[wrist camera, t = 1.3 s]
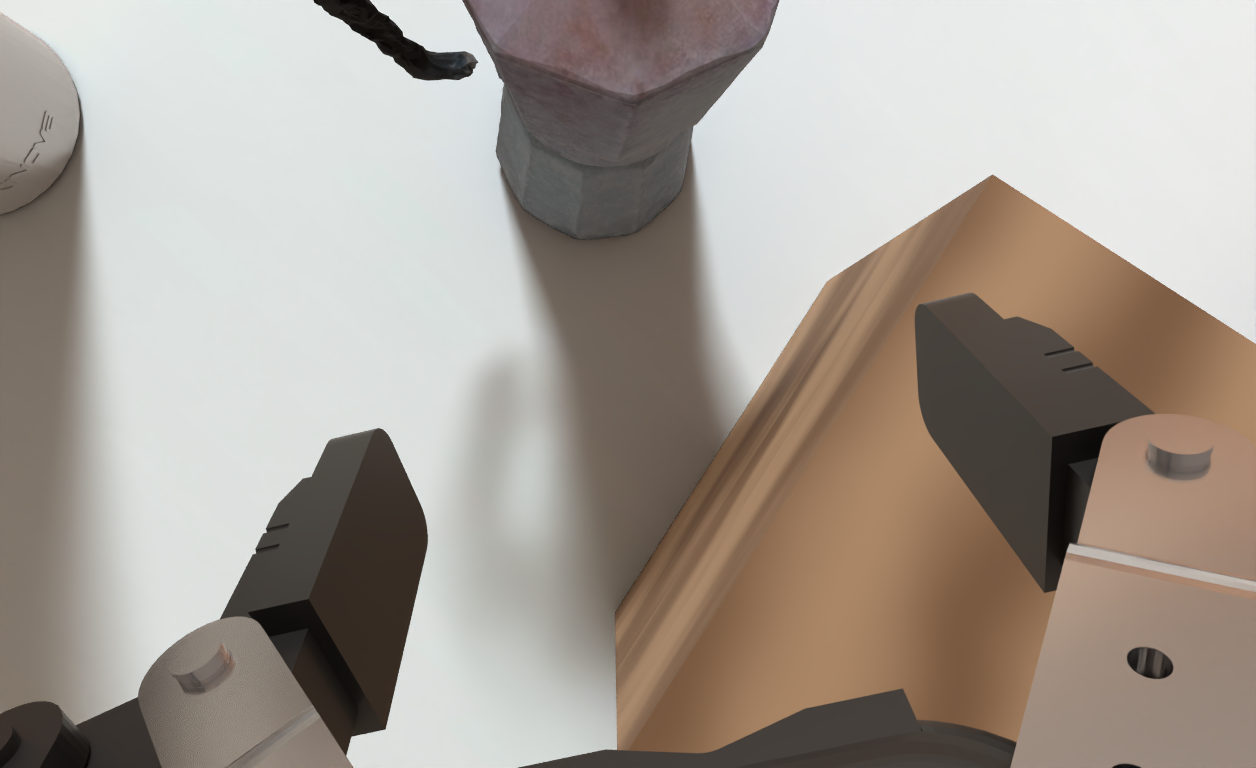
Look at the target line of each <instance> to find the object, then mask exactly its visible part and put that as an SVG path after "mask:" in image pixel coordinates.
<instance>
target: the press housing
mask: <svg viewBox="0 0 1256 768" xmlns="http://www.w3.org/2000/svg"><path fill="white" fill-rule="evenodd" d="M971 292H972V293H974V294H976V295H977V296H978V297H979V298H981V299H982V300H983V301H984V302H985V303H986V304H987V305H989V306H990V307H991V308H992V309H993V310H994V311H995V312H996V313H998V314H999V315H1000V316H1001V317H1002V318H1003V319H1007V318H1012V317H1016V316H1018V317H1021V318H1023V319H1026V320H1029V321H1032V322H1034V323H1037V324H1040V325H1043V326H1045V327H1048V328H1051V329H1052V330H1054V331H1055V332H1056V333H1057V334H1059V335H1060V336H1061V337H1062V338H1063V339H1065V340H1066V341H1067V342H1068V343H1070V344H1071V345H1072V346H1073V347H1074V350H1075V351H1079V352H1081V353H1082V354H1083V355H1084V356H1086V357H1087V358H1088V359H1089V360H1090V361H1092V362H1093V366H1094V367H1097V366H1098V367H1099V368H1100V369H1101V370H1103V371H1104V372H1105V373H1106V374H1108V375H1109V376H1110V377H1111V378H1112V379H1114V380H1115V381H1116V382H1117V383H1119V384H1120V385H1121V386H1122V387H1124V388H1125V389H1126V390H1127V391H1128V392H1130V393H1131V394H1132V395H1133V396H1135V397H1136V398H1137V399H1138V400H1139V401H1141V402H1142V403H1143V404H1144V405H1146V406H1147V407H1148V408H1149V409H1151V410H1152V411H1153V412H1154V413H1155V414H1179V415H1188V416H1194V417H1199V418H1203V419H1207V420H1211V421H1214V422H1217V423H1220V424H1223V425H1225V426H1227V427H1229V428H1231V429H1233V430H1235V431H1237V432H1239V433H1240V434H1242V435H1243V436H1245V437H1246V438H1247V439H1248V440H1250V441H1251V442H1252V444H1253V445H1254V446H1255V447H1256V344H1255V343H1253V342H1252V341H1250V340H1249V339H1247V338H1245V337H1244V336H1242V335H1241V334H1239V333H1238V332H1236V331H1235V330H1233V329H1231V328H1230V327H1228V326H1227V325H1225V324H1224V323H1222V322H1221V321H1219V320H1217V319H1216V318H1214V317H1213V316H1211V315H1210V314H1208V313H1207V312H1205V311H1204V310H1202V309H1200V308H1199V307H1197V306H1196V305H1194V304H1193V303H1191V302H1190V301H1188V300H1186V299H1185V298H1183V297H1182V296H1180V295H1179V294H1177V293H1176V292H1174V291H1172V290H1171V289H1169V288H1168V287H1166V286H1165V285H1163V284H1162V283H1160V282H1159V281H1157V280H1155V279H1154V278H1152V277H1151V276H1149V275H1148V274H1146V273H1145V272H1143V271H1141V270H1140V269H1138V268H1137V267H1135V266H1134V265H1132V264H1131V263H1129V262H1127V261H1126V260H1124V259H1123V258H1121V257H1120V256H1118V255H1117V254H1115V253H1113V252H1112V251H1110V250H1109V249H1107V248H1106V247H1104V246H1103V245H1101V244H1100V243H1098V242H1096V241H1095V240H1093V239H1092V238H1090V237H1089V236H1087V235H1086V234H1084V233H1082V232H1081V231H1079V230H1078V229H1076V228H1075V227H1073V226H1072V225H1070V224H1068V223H1067V222H1065V221H1064V220H1062V219H1061V218H1059V217H1058V216H1056V215H1055V214H1053V213H1051V212H1050V211H1048V210H1047V209H1045V208H1044V207H1042V206H1041V205H1039V204H1037V203H1036V202H1034V201H1033V200H1031V199H1030V198H1028V197H1027V196H1025V195H1023V194H1022V193H1020V192H1019V191H1017V190H1016V189H1014V188H1013V187H1011V186H1009V185H1008V184H1006V183H1005V182H1003V181H1002V180H1000V179H999V178H997V177H996V176H994V175H991V176H990V177H988V178H987V179H985V180H983V181H982V182H980V183H979V184H977V185H976V186H974V187H973V188H971V189H970V190H968V191H966V192H965V193H963V194H962V195H960V196H959V197H957V198H956V199H954V200H952V201H951V202H949V203H948V204H946V205H945V206H943V207H942V208H940V209H939V210H937V211H935V212H934V213H932V214H931V215H929V216H928V217H926V218H925V219H923V220H921V221H920V222H918V223H917V224H915V225H914V226H912V227H911V228H909V229H908V230H906V231H904V232H903V233H901V234H900V235H898V236H897V237H895V238H894V239H892V240H890V241H889V242H887V243H886V244H884V245H883V246H881V247H880V248H878V249H877V250H875V251H873V252H872V253H870V254H869V255H867V256H866V257H864V258H863V259H861V260H860V261H858V262H856V263H855V264H853V265H852V266H850V267H849V268H847V269H846V270H844V271H842V272H841V273H839V274H838V275H836V276H835V277H833V278H832V279H830V280H829V281H827V283H826V284H825V286H824V287H823V289H822V290H821V292H820V293H819V295H818V297H817V298H816V300H815V301H814V303H813V304H812V306H811V308H810V309H809V311H808V312H807V314H806V315H805V317H804V318H803V320H802V322H801V323H800V325H799V326H798V328H797V329H796V331H795V333H794V334H793V336H792V337H791V339H790V340H789V342H788V343H787V345H786V347H785V348H784V350H783V351H782V353H781V354H780V356H779V358H778V359H777V361H776V362H775V364H774V365H773V367H772V368H771V370H770V372H769V373H768V375H767V376H766V378H765V379H764V381H763V383H762V384H761V386H760V387H759V389H758V390H757V392H756V393H755V395H754V397H753V398H752V400H751V401H750V403H749V404H748V406H747V408H746V409H745V411H744V412H743V414H742V415H741V417H740V418H739V420H738V422H737V423H736V425H735V426H734V428H733V429H732V431H731V433H730V434H729V436H728V437H727V439H726V440H725V442H724V443H723V445H722V447H721V448H720V450H719V451H718V453H717V454H716V456H715V458H714V459H713V461H712V462H711V464H710V465H709V467H708V468H707V470H706V472H705V473H704V475H703V476H702V478H701V479H700V481H699V483H698V484H697V486H696V487H695V489H694V490H693V492H692V493H691V495H690V497H689V498H688V500H687V501H686V503H685V504H684V506H683V508H682V509H681V511H680V512H679V514H678V515H677V517H676V518H675V520H674V522H673V523H672V525H671V526H670V528H669V529H668V531H667V533H666V534H665V536H664V537H663V539H662V540H661V542H660V543H659V545H658V547H657V548H656V550H655V551H654V553H653V554H652V556H651V557H650V559H649V561H648V562H647V564H646V565H645V567H644V568H643V570H642V572H641V573H640V575H639V576H638V578H637V579H636V581H635V582H634V584H633V586H632V587H631V589H630V590H629V592H628V593H627V595H626V597H625V598H624V600H623V601H622V603H621V604H620V606H619V607H618V609H617V611H616V612H615V639H616V699H617V750H628V751H654V752H680V753H707V752H712V751H715V750H717V749H720V748H722V747H724V746H726V745H728V744H730V743H733V742H735V741H737V740H739V739H741V738H743V737H745V736H747V735H750V734H752V733H754V732H756V731H758V730H760V729H762V728H764V727H767V726H769V725H771V724H773V723H775V722H777V721H779V720H782V719H784V718H786V717H788V716H790V715H792V714H794V713H796V712H799V711H801V710H803V709H805V708H810V707H815V706H820V705H825V704H829V703H834V702H839V701H844V700H849V699H854V698H859V697H863V696H868V695H873V694H878V693H883V692H888V691H892V690H897V689H902V688H903V690H904V692H905V694H906V696H907V699H908V701H909V703H910V705H911V708H912V710H913V712H914V714H915V717H916V719H917V720H934V721H941V722H948V723H954V724H960V725H964V726H968V727H972V728H977V729H981V730H985V731H988V732H990V733H993V734H996V735H999V736H1002V737H1004V738H1007V739H1010V740H1013V741H1015V742H1017V740H1018V736H1019V732H1020V729H1021V725H1022V721H1023V717H1024V713H1025V709H1026V706H1027V702H1028V698H1029V694H1030V690H1031V686H1032V682H1033V679H1034V675H1035V671H1036V667H1037V663H1038V659H1039V656H1040V652H1041V648H1042V644H1043V640H1044V636H1045V632H1046V629H1047V625H1048V621H1049V617H1050V613H1051V609H1052V606H1053V602H1054V598H1055V594H1056V591H1052V592H1047V593H1044V592H1043V591H1042V589H1041V588H1040V586H1039V585H1038V584H1037V582H1036V581H1035V580H1034V578H1033V577H1032V575H1031V574H1030V573H1029V571H1028V570H1027V569H1026V567H1025V566H1024V564H1023V563H1022V562H1021V560H1020V559H1019V557H1018V556H1017V555H1016V553H1015V552H1014V551H1013V549H1012V548H1011V546H1010V545H1009V544H1008V542H1007V541H1006V540H1005V538H1004V537H1003V535H1002V534H1001V533H1000V531H999V530H998V528H997V527H996V526H995V524H994V523H993V522H992V520H991V519H990V517H989V516H988V515H987V513H986V512H985V510H984V509H983V508H982V506H981V505H980V504H979V502H978V501H977V499H976V498H975V497H974V495H973V494H972V493H971V491H970V490H969V488H968V487H967V486H966V484H965V483H964V481H963V480H962V479H961V477H960V476H959V475H958V473H957V472H956V470H955V469H954V468H953V466H952V465H951V464H950V462H949V461H948V459H947V458H946V457H945V455H944V454H943V452H942V451H941V450H940V448H939V447H938V446H937V444H936V443H935V441H934V440H933V439H932V437H931V436H930V434H929V432H928V430H927V428H926V425H925V423H924V420H923V417H922V413H921V409H920V405H919V398H918V381H917V361H916V341H915V311H916V308H917V306H918V305H919V304H922V303H927V302H931V301H935V300H939V299H944V298H948V297H952V296H957V295H961V294H965V293H971Z"/></svg>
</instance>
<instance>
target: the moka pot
mask: <svg viewBox="0 0 1256 768" xmlns="http://www.w3.org/2000/svg"><path fill="white" fill-rule="evenodd" d="M463 2H464V4H465V6H466V8H467V10H468V12H469V14H470V15H471V17H472V19H473V21H474V23H475V26H476V29H477V31H478V33H479V35H480V36H481V38H482V41H483V43H484V45H485V46H486V48H487V51H488V53H489V54H490V56H491V58H492V60H493V62H494V64H495V67H496V70H497V73H498V76H499V78H500V79H502V81H503V82H504V87H503V95H502V101H501V118H500V124H499V133H498V138H497V147H496V154H497V158H498V160H499V162H500V165H501V167H502V170H503V172H504V174H505V176H506V178H507V181H508V183H509V185H510V187H511V189H512V191H513V193H514V195H515V196H516V198H517V199H518V201H519V203H520V205H521V206H522V207H523V209H524V210H526V211H527V212H528V213H530V214H531V215H532V216H534V217H536V218H537V219H539V220H541V221H542V222H544V223H546V224H548V225H549V226H551V227H553V228H555V229H557V230H559V231H560V232H562V233H565V234H567V235H569V236H571V237H572V238H575V239H600V238H604V237H613V236H625V235H628V234H631V233H634V232H637V231H639V230H640V229H641V228H642V227H644V226H645V225H646V224H648V223H649V222H651V221H652V220H653V219H654V218H655V217H656V216H657V215H658V214H659V213H661V212H662V211H663V210H664V209H665V208H666V207H667V206H668V205H670V203H671V202H672V201H673V200H674V199H675V198H676V196H677V195H678V194H679V193H680V191H681V188H682V185H683V181H684V176H685V170H686V165H687V159H688V153H689V148H690V142H691V138H692V132H693V126H694V125H696V124H697V123H698V122H699V121H700V120H701V119H702V118H703V116H704V115H705V114H706V113H707V111H708V110H709V109H710V108H711V107H712V106H713V104H714V103H715V102H716V101H717V100H718V99H719V98H720V96H721V95H722V94H723V93H724V92H725V90H726V89H727V88H728V87H729V86H730V85H731V83H732V82H733V81H734V80H735V78H736V77H737V76H738V75H739V73H740V72H741V71H742V70H743V69H744V68H745V67H746V65H747V64H748V63H749V62H750V61H751V60H752V58H753V57H754V56H755V55H756V54H757V53H758V52H759V50H760V49H761V48H762V47H763V45H764V42H765V40H766V38H767V36H768V34H769V31H770V28H771V25H772V22H773V19H774V16H775V12H776V9H777V6H778V3H779V0H463ZM314 3H316V4H317V5H320V6H322V7H323V9H324V10H325V11H326V12H328V13H329V14H330V15H331V16H334V17H336V18H338V19H341V20H343V21H344V22H345V23H346V24H348V25H349V26H350V27H351V29H352V30H353V31H355V32H357V33H359V34H361V35H362V36H364V37H366V38H367V39H369V40H371V41H373V42H375V43H376V44H377V46H378V48H379V49H380V50H381V52H382V53H383V54H386V55H388V56H391V57H393V58H394V60H395V62H396V63H397V64H398V65H400V66H401V67H403V68H404V69H405V70H406V71H407V72H408V73H409V74H410V75H412V77H413V78H417V79H422V80H442V79H452V80H460V79H462V78H464V77H468V76H470V75H471V74H472V73H473V69H474V68H475V66H476V63H478V61H477V60H476V59H475V57H474V56H473V55H472V54H470V53H467V52H446V53H436V52H430V51H427V50H425V48H424V47H423V46H421V45H419V44H417V43H415V42H413V41H411V40H409V39H407V38H405V37H403V32H402V31H401V29H400V28H399V27H398V26H397V25H396V24H395V23H394V22H393V21H392V20H390V18H389V16H387V15H385V14H382V13H380V12H379V11H378V10H377V8H376V7H375V6H374V5H373V4H372V3H371V1H370V0H314Z"/></svg>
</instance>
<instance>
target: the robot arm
mask: <svg viewBox="0 0 1256 768" xmlns="http://www.w3.org/2000/svg"><path fill="white" fill-rule="evenodd" d="M79 117H80V111H79V104H78V96H77V91H76V89H75V86H74V83H73V80H72V78H71V75H70V73H69V71H68V70H67V68H66V66H65V65H64V63H63V62H62V60H61V59H60V57H59V56H58V55H57V54H56V53H55V52H54V51H53V50H52V49H51V48H50V47H49V46H48V45H47V44H46V43H45V42H44V41H43V40H42V39H40V38H39V37H37V36H36V35H34V34H33V33H31V32H30V31H28V30H27V29H25V28H24V27H22V26H21V25H19V24H18V23H16V22H15V21H13V20H12V19H10V18H9V17H7V16H6V15H4V14H3V13H1V12H0V214H4V213H8V212H11V211H13V210H15V209H17V208H19V207H22V206H24V205H26V204H28V203H30V202H31V201H33V200H34V199H35V198H36V197H38V196H39V195H40V194H42V193H43V192H44V191H46V190H47V189H48V188H49V187H50V186H51V184H52V183H53V182H54V181H55V180H56V179H57V178H58V176H59V175H60V174H61V173H62V171H63V169H64V168H65V166H66V164H67V162H68V160H69V159H70V157H71V155H72V152H73V149H74V146H75V142H76V139H77V136H78V129H79ZM915 341H916V361H917V381H918V398H919V405H920V409H921V413H922V417H923V420H924V423H925V425H926V428H927V430H928V432H929V434H930V436H931V437H932V439H933V440H934V441H935V443H936V444H937V446H938V447H939V448H940V450H941V451H942V452H943V454H944V455H945V457H946V458H947V459H948V461H949V462H950V464H951V465H952V466H953V468H954V469H955V470H956V472H957V473H958V475H959V476H960V477H961V479H962V480H963V481H964V483H965V484H966V486H967V487H968V488H969V490H970V491H971V493H972V494H973V495H974V497H975V498H976V499H977V501H978V502H979V504H980V505H981V506H982V508H983V509H984V510H985V512H986V513H987V515H988V516H989V517H990V519H991V520H992V522H993V523H994V524H995V526H996V527H997V528H998V530H999V531H1000V533H1001V534H1002V535H1003V537H1004V538H1005V540H1006V541H1007V542H1008V544H1009V545H1010V546H1011V548H1012V549H1013V551H1014V552H1015V553H1016V555H1017V556H1018V557H1019V559H1020V560H1021V562H1022V563H1023V564H1024V566H1025V567H1026V569H1027V570H1028V571H1029V573H1030V574H1031V575H1032V577H1033V578H1034V580H1035V581H1036V582H1037V584H1038V585H1039V586H1040V588H1041V589H1042V591H1043V592H1044V593H1047V592H1052V591H1056V594H1055V598H1054V602H1053V606H1052V609H1051V613H1050V617H1049V621H1048V625H1047V629H1046V632H1045V636H1044V640H1043V644H1042V648H1041V652H1040V656H1039V659H1038V663H1037V667H1036V671H1035V675H1034V679H1033V682H1032V686H1031V690H1030V694H1029V698H1028V702H1027V706H1026V709H1025V713H1024V717H1023V721H1022V725H1021V729H1020V732H1019V736H1018V740H1017V742H1015V741H1013V740H1010V739H1007V738H1004V737H1002V736H999V735H996V734H993V733H990V732H988V731H985V730H981V729H977V728H972V727H968V726H964V725H960V724H954V723H948V722H941V721H934V720H917V719H916V717H915V714H914V712H913V710H912V708H911V705H910V703H909V701H908V699H907V696H906V694H905V692H904V690H903V688H902V689H897V690H892V691H888V692H883V693H878V694H873V695H868V696H863V697H859V698H854V699H849V700H844V701H839V702H834V703H829V704H825V705H820V706H815V707H810V708H805V709H803V710H801V711H799V712H796V713H794V714H792V715H790V716H788V717H786V718H784V719H782V720H779V721H777V722H775V723H773V724H771V725H769V726H767V727H764V728H762V729H760V730H758V731H756V732H754V733H752V734H750V735H747V736H745V737H743V738H741V739H739V740H737V741H735V742H733V743H730V744H728V745H726V746H724V747H722V748H720V749H717V750H715V751H712V752H707V753H680V752H654V751H628V750H602V751H597V752H592V753H587V754H582V755H577V756H572V757H568V758H563V759H558V760H553V761H548V762H543V763H539V764H534V765H529V766H524V767H519V768H1256V447H1255V446H1254V445H1253V444H1252V442H1251V441H1250V440H1248V439H1247V438H1246V437H1245V436H1243V435H1242V434H1240V433H1239V432H1237V431H1235V430H1233V429H1231V428H1229V427H1227V426H1225V425H1223V424H1220V423H1217V422H1214V421H1211V420H1207V419H1203V418H1199V417H1194V416H1188V415H1179V414H1155V413H1154V412H1153V411H1152V410H1151V409H1149V408H1148V407H1147V406H1146V405H1144V404H1143V403H1142V402H1141V401H1139V400H1138V399H1137V398H1136V397H1135V396H1133V395H1132V394H1131V393H1130V392H1128V391H1127V390H1126V389H1125V388H1124V387H1122V386H1121V385H1120V384H1119V383H1117V382H1116V381H1115V380H1114V379H1112V378H1111V377H1110V376H1109V375H1108V374H1106V373H1105V372H1104V371H1103V370H1101V369H1100V368H1099V367H1098V366H1097V367H1094V366H1093V362H1092V361H1090V360H1089V359H1088V358H1087V357H1086V356H1084V355H1083V354H1082V353H1081V352H1079V351H1075V350H1074V347H1073V346H1072V345H1071V344H1070V343H1068V342H1067V341H1066V340H1065V339H1063V338H1062V337H1061V336H1060V335H1059V334H1057V333H1056V332H1055V331H1054V330H1052V329H1051V328H1048V327H1045V326H1043V325H1040V324H1037V323H1034V322H1032V321H1029V320H1026V319H1023V318H1021V317H1018V316H1016V317H1012V318H1007V319H1003V318H1002V317H1001V316H1000V315H999V314H998V313H996V312H995V311H994V310H993V309H992V308H991V307H990V306H989V305H987V304H986V303H985V302H984V301H983V300H982V299H981V298H979V297H978V296H977V295H976V294H974V293H972V292H971V293H965V294H961V295H957V296H952V297H948V298H944V299H939V300H935V301H931V302H927V303H922V304H919V305H918V306H917V308H916V311H915ZM266 530H267V533H264V534H263V535H262V537H261V539H260V541H259V543H258V545H257V547H256V549H255V550H256V554H253V555H252V557H251V559H250V561H249V563H248V565H247V567H246V569H245V571H244V573H243V575H242V577H241V579H240V581H239V583H238V585H237V587H236V589H235V590H234V592H233V594H232V596H231V598H230V600H229V602H228V604H227V606H226V608H225V610H224V612H223V614H222V616H221V618H220V620H217V621H214V622H211V623H209V624H206V625H204V626H202V627H200V628H198V629H196V630H194V631H193V632H191V633H189V634H187V635H186V636H184V637H183V638H182V639H180V640H179V641H177V642H176V643H175V644H173V645H172V646H171V647H170V648H169V649H167V650H166V651H165V652H164V653H163V654H162V655H161V656H160V657H159V658H158V659H157V661H156V662H155V663H154V664H153V665H152V666H151V668H150V669H149V671H148V672H147V674H146V675H145V677H144V679H143V681H142V683H141V686H140V689H139V693H138V697H137V698H135V699H133V700H131V701H128V702H126V703H124V704H122V705H120V706H117V707H115V708H113V709H111V710H109V711H106V712H104V713H102V714H100V715H98V716H95V717H93V718H91V719H89V720H87V721H85V722H82V723H80V724H78V725H76V726H75V725H74V723H73V722H72V721H71V720H70V719H69V718H68V717H67V716H66V714H65V713H64V712H63V711H62V710H61V709H60V708H59V707H58V705H56V704H54V703H51V702H46V701H41V702H32V703H27V704H24V705H21V706H18V707H15V708H13V709H10V710H8V711H6V712H4V713H2V714H0V768H353V766H352V765H351V763H350V762H349V760H348V759H347V757H346V754H347V751H348V747H349V743H350V739H351V737H352V736H356V735H361V734H366V733H371V732H375V731H380V730H385V729H386V725H387V721H388V716H389V712H390V708H391V703H392V699H393V695H394V690H395V686H396V681H397V677H398V673H399V668H400V664H401V660H402V655H403V651H404V646H405V642H406V638H407V633H408V629H409V625H410V620H411V616H412V611H413V607H414V603H415V598H416V594H417V590H418V585H419V581H420V577H421V572H422V568H423V563H424V559H425V555H426V550H427V543H428V534H427V525H426V520H425V516H424V513H423V509H422V507H421V505H420V502H419V500H418V498H417V496H416V494H415V491H414V489H413V487H412V485H411V483H410V480H409V478H408V476H407V474H406V472H405V469H404V467H403V465H402V463H401V461H400V458H399V456H398V454H397V452H396V450H395V447H394V445H393V443H392V441H391V439H390V437H389V436H388V434H387V433H386V432H385V431H384V430H383V429H380V428H378V429H373V430H369V431H365V432H360V433H356V434H352V435H347V436H343V437H339V438H334V439H331V440H330V441H329V442H328V443H327V445H326V447H325V449H324V451H323V454H322V456H321V458H320V460H319V462H318V464H317V466H316V468H315V470H314V473H313V475H312V477H309V478H304V479H302V480H301V481H300V482H299V483H298V484H297V485H296V486H295V487H294V488H293V489H292V490H291V491H290V492H289V493H288V494H287V496H286V497H285V498H284V499H283V500H282V501H281V502H280V503H279V504H278V506H277V508H276V510H275V512H274V514H273V516H272V518H271V520H270V521H269V523H268V525H267V527H266Z"/></svg>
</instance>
